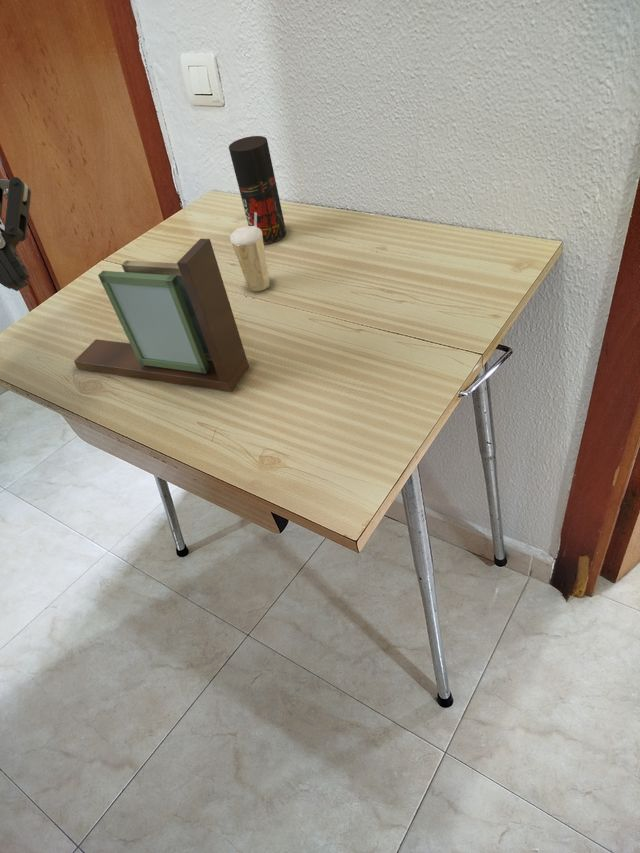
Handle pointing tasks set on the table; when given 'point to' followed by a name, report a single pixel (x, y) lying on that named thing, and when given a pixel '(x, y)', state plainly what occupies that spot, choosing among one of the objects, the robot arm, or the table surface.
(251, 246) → the milkshake
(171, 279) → the panel
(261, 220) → the deodorant
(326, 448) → the table surface
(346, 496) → the table surface
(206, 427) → the table surface
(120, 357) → the window frame
